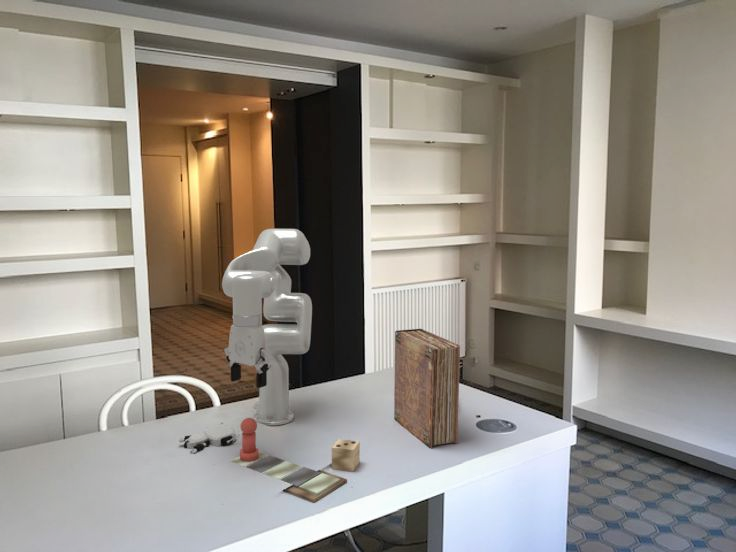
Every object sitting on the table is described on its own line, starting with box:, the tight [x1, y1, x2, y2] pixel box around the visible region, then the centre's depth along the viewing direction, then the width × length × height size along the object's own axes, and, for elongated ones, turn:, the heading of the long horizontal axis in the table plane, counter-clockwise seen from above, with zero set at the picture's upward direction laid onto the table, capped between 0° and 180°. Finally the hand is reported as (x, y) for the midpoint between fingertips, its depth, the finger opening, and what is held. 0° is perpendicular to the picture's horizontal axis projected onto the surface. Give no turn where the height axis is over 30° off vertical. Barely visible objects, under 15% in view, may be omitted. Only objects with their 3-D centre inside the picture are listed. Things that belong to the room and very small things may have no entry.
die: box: [331, 438, 361, 473], centre depth 160 cm, size 6×6×6 cm
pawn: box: [239, 417, 260, 462], centre depth 161 cm, size 5×5×11 cm
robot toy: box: [178, 421, 240, 454], centre depth 172 cm, size 12×4×15 cm
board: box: [229, 451, 348, 504], centre depth 154 cm, size 32×13×1 cm, turn 55°
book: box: [393, 328, 461, 449], centre depth 183 cm, size 25×9×30 cm, turn 22°
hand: (248, 383), depth 159 cm, fingers open, 9 cm apart
